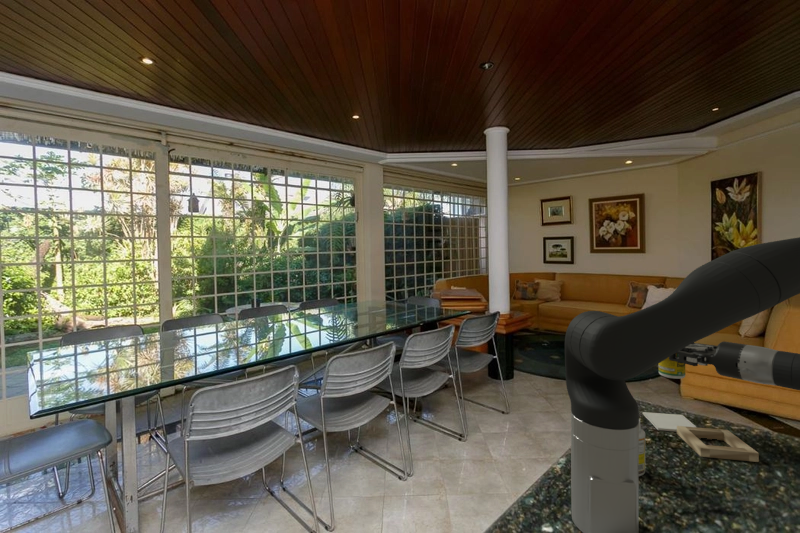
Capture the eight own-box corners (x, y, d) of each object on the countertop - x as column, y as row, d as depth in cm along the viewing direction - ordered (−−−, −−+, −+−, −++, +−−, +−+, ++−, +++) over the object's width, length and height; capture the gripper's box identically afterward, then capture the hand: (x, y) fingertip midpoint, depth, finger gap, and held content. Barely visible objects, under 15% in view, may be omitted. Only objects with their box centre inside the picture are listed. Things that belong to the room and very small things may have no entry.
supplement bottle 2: (664, 370, 94) (663, 333, 94) (689, 376, 90) (689, 336, 90) (654, 375, 91) (654, 336, 91) (680, 380, 87) (679, 340, 87)
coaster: (701, 433, 86) (701, 431, 86) (657, 430, 88) (657, 427, 88) (682, 416, 94) (682, 414, 94) (642, 413, 97) (642, 412, 97)
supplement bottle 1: (617, 458, 76) (617, 409, 76) (648, 469, 72) (649, 418, 72) (607, 469, 73) (607, 418, 72) (640, 481, 68) (640, 427, 68)
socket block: (758, 462, 74) (758, 453, 74) (700, 456, 76) (700, 447, 76) (727, 437, 84) (727, 429, 84) (676, 433, 86) (676, 425, 86)
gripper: (761, 340, 82) (673, 328, 96) (734, 350, 74) (644, 335, 89) (761, 374, 82) (673, 357, 96) (734, 387, 75) (644, 366, 89)
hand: (659, 347), depth 93 cm, fingers closed on supplement bottle 2, 5 cm apart
